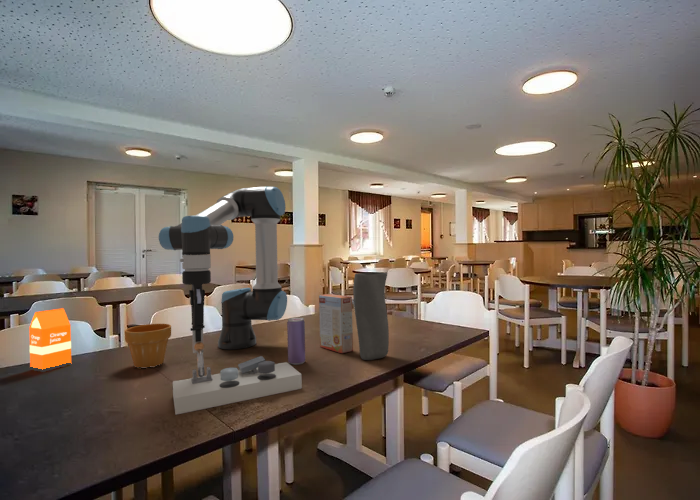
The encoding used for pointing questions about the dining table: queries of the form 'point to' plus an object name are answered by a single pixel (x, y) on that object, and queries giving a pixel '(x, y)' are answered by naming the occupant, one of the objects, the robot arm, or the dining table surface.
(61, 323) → the orange juice
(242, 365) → the block
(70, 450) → the dining table surface
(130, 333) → the flower pot
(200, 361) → the lever
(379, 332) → the vase
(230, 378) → the button
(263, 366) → the button
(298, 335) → the beverage can
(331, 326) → the cracker box
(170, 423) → the dining table surface
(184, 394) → the console
